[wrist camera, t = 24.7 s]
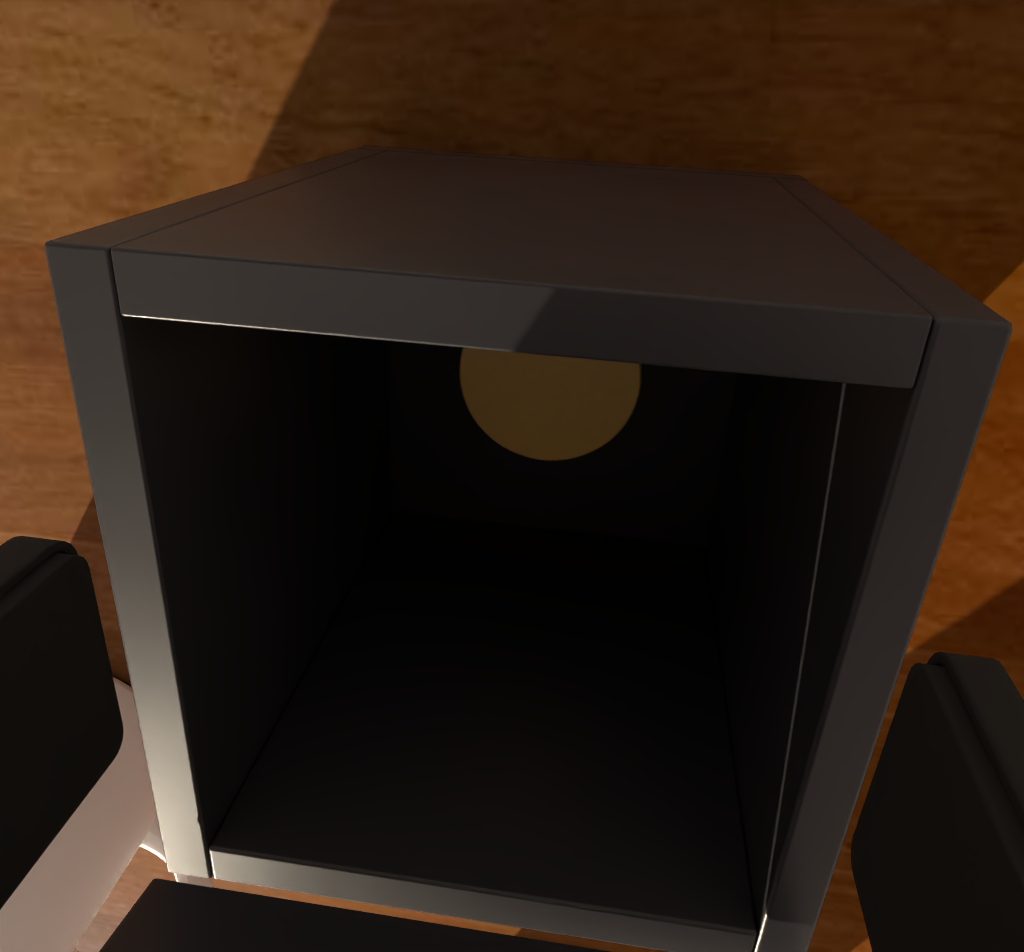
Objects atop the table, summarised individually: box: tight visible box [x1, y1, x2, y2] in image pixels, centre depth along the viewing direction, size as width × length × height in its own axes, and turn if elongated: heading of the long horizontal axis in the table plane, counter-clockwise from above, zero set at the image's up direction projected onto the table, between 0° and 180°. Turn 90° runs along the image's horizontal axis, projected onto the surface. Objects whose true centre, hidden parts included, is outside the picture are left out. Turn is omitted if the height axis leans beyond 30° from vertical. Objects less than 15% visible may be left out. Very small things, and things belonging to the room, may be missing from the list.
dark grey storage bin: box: [45, 146, 1012, 952], centre depth 19 cm, size 12×12×14 cm
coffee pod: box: [459, 348, 642, 461], centre depth 22 cm, size 4×4×4 cm
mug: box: [0, 677, 213, 952], centre depth 30 cm, size 12×8×10 cm
